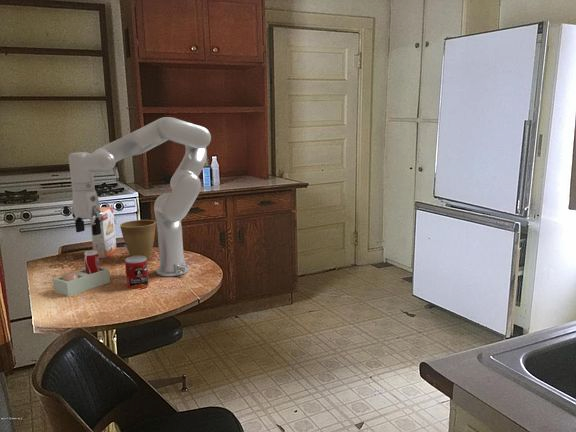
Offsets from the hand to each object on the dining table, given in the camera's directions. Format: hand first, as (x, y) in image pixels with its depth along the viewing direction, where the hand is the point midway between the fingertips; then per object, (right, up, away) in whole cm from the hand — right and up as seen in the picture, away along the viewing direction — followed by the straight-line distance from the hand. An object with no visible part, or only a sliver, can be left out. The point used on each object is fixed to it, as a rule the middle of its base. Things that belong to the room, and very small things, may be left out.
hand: (88, 233), depth 183 cm
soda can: (0, -19, +4) cm, 20 cm away
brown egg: (-5, -21, -3) cm, 21 cm away
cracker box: (-10, -11, +44) cm, 47 cm away
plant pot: (+8, -13, +37) cm, 40 cm away
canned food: (+18, -20, +2) cm, 27 cm away
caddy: (-2, -21, 0) cm, 21 cm away
